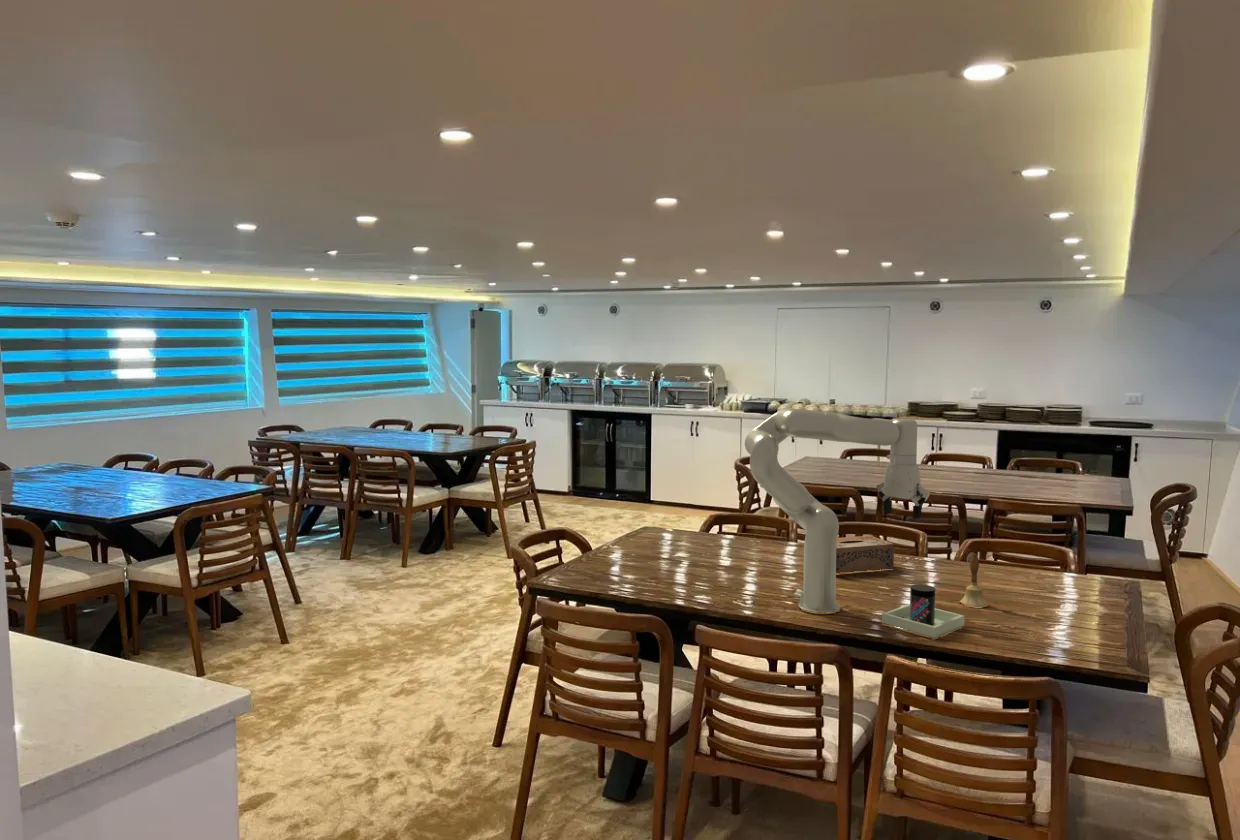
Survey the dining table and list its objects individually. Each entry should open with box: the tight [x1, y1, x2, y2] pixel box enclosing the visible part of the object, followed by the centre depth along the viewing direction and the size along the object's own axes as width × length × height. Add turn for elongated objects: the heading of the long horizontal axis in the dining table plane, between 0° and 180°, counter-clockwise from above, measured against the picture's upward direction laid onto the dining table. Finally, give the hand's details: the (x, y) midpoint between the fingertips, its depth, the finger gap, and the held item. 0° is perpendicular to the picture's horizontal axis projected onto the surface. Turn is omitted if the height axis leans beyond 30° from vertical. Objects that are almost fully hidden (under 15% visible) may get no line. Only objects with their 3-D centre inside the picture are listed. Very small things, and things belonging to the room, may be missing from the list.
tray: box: [881, 603, 965, 639], centre depth 231 cm, size 16×16×4 cm
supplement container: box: [909, 584, 937, 626], centre depth 230 cm, size 7×7×10 cm
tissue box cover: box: [836, 535, 895, 573], centre depth 294 cm, size 26×14×10 cm, turn 107°
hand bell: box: [959, 553, 989, 607], centre depth 251 cm, size 8×8×16 cm
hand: (902, 516), depth 246 cm, fingers open, 9 cm apart
